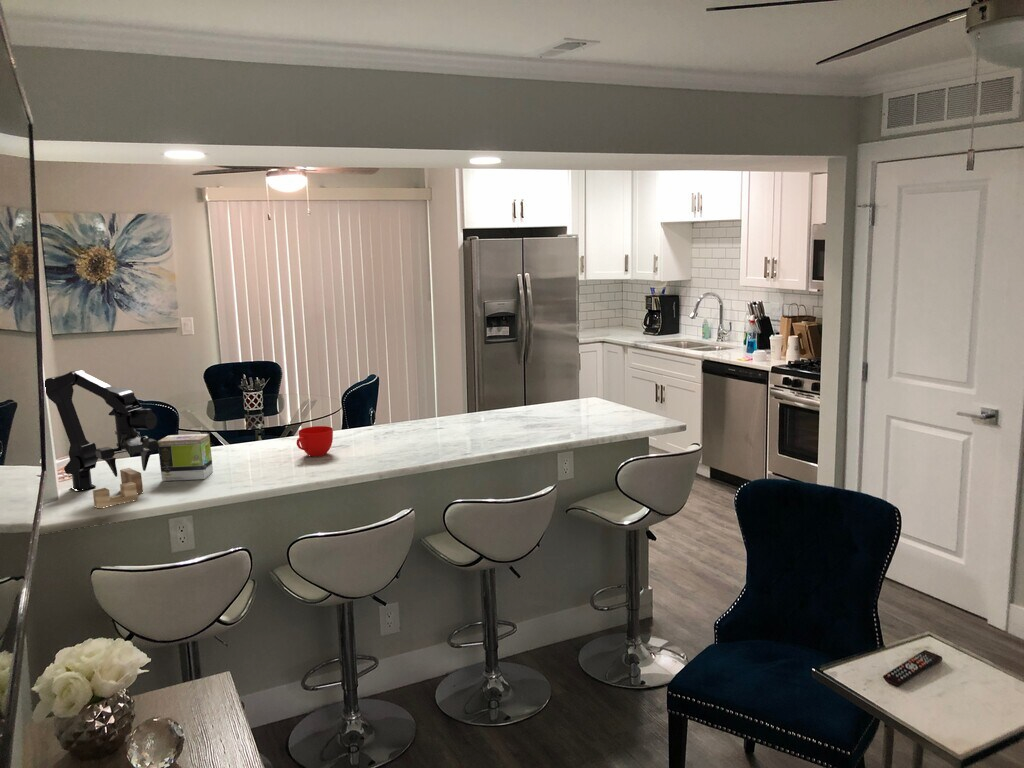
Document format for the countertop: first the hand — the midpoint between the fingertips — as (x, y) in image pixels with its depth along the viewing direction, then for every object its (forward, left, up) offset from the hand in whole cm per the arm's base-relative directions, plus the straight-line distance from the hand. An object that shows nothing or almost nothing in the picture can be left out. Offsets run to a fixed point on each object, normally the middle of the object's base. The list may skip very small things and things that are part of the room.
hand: (130, 473), depth 270 cm
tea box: (-2, +20, -6) cm, 21 cm away
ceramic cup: (+9, +65, -6) cm, 66 cm away
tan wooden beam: (0, 0, -6) cm, 6 cm away
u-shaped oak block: (+10, -9, -6) cm, 15 cm away
